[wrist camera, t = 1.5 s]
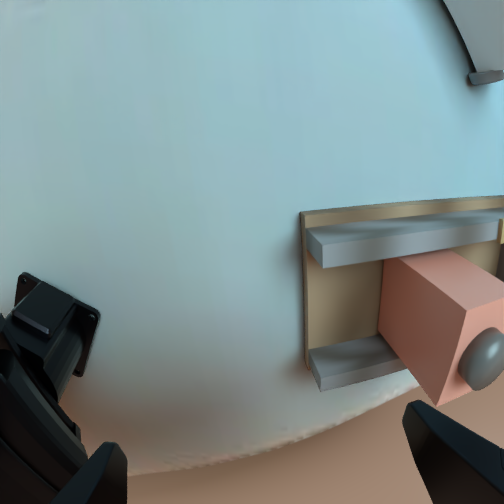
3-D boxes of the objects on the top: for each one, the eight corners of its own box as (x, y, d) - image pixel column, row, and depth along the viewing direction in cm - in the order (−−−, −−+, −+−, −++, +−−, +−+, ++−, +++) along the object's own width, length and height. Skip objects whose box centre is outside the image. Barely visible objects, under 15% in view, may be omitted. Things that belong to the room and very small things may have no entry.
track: (304, 361, 22) (321, 403, 18) (300, 211, 18) (324, 233, 14) (484, 312, 24) (512, 335, 19) (503, 195, 20) (541, 208, 16)
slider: (377, 329, 21) (446, 421, 12) (384, 248, 19) (483, 324, 10) (423, 317, 21) (498, 394, 12) (433, 240, 19) (533, 302, 10)
